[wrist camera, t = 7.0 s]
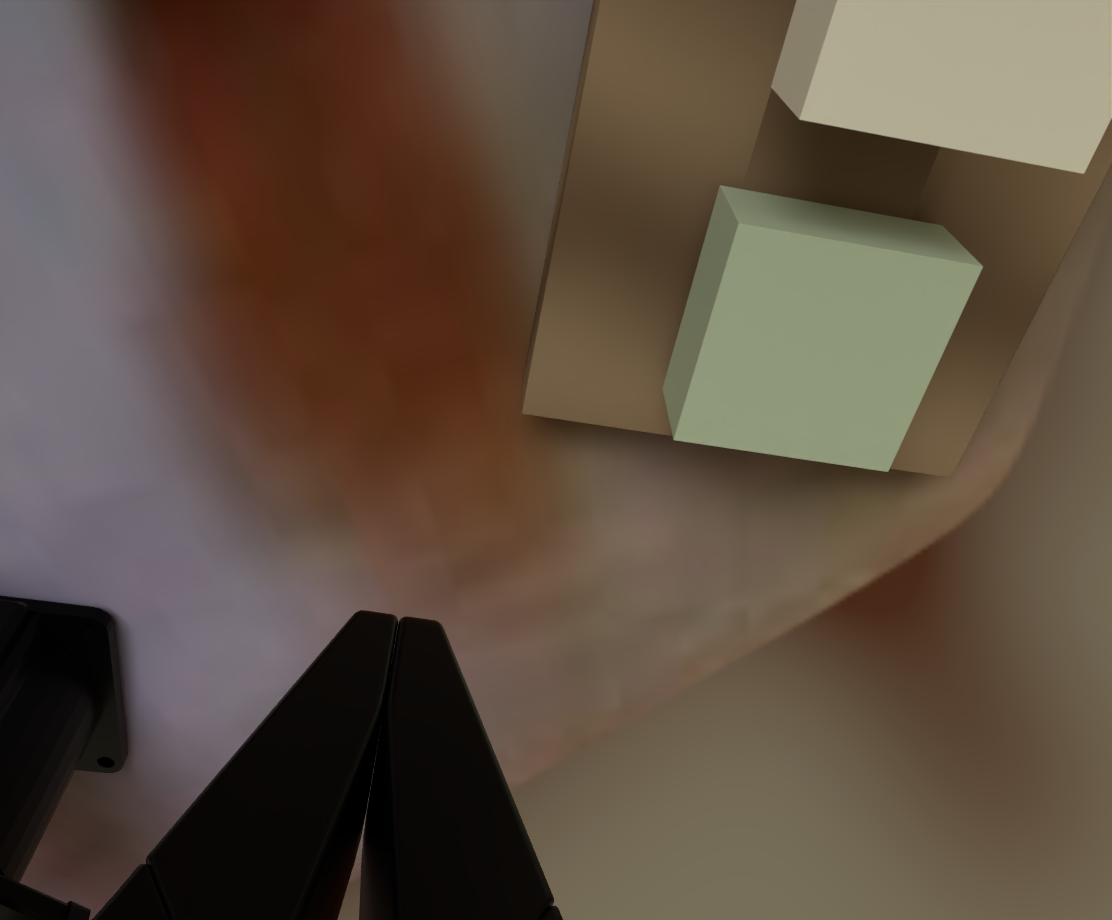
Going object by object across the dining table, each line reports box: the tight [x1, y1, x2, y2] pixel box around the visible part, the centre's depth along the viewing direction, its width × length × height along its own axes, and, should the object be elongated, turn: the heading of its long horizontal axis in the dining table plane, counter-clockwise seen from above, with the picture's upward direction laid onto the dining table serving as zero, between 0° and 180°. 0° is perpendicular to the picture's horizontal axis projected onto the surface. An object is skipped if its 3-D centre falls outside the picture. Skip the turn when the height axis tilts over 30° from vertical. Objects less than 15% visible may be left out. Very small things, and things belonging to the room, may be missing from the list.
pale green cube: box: [662, 185, 983, 472], centre depth 19 cm, size 4×4×4 cm
